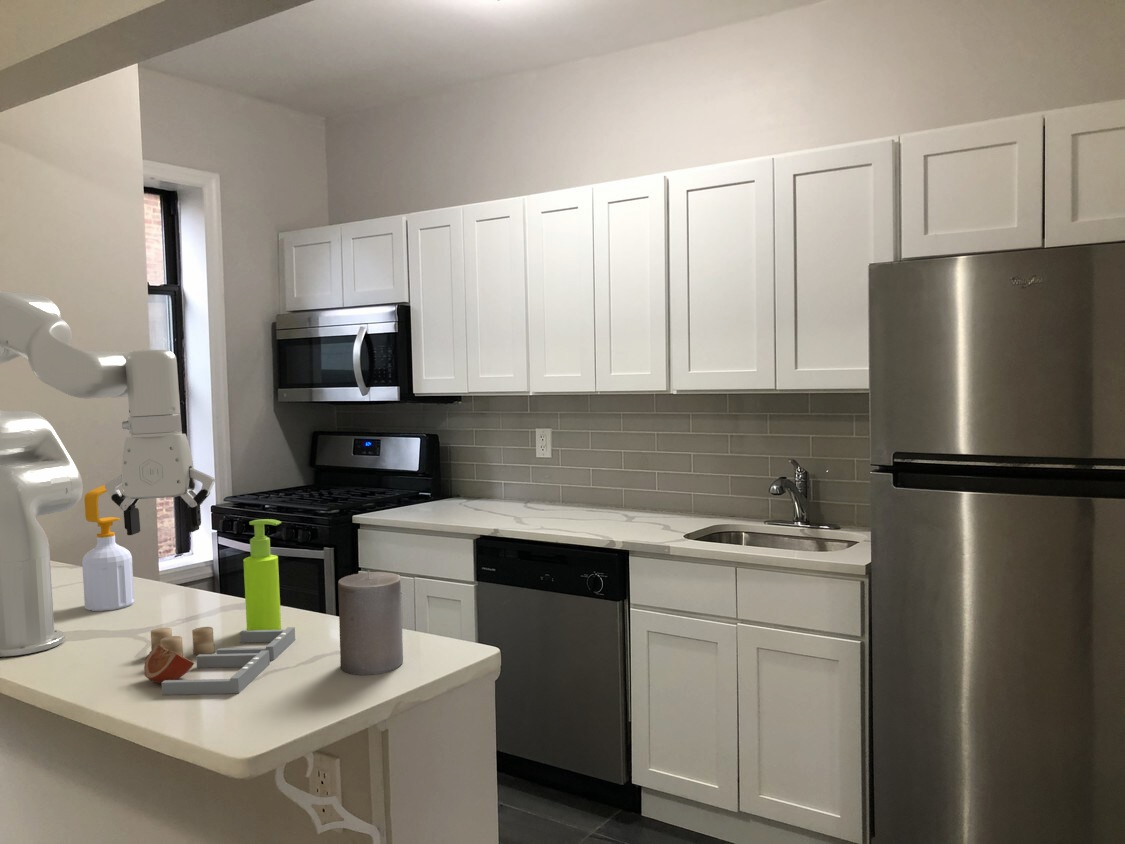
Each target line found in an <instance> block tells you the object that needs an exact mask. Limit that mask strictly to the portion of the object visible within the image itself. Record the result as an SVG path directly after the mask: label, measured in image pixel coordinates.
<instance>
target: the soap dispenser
mask: <svg viewBox="0 0 1125 844" xmlns="http://www.w3.org/2000/svg"><path fill="white" fill-rule="evenodd" d="M282 522H283V521H280V520H277V519H272V518H270V519H269V518H264V519H263V518H262V519H254V520H251V521H249V522H248V523H249V524H248V525H250V526H253V527H254V528H253V531H254V536H253V537H252V538H250V539H249V545H250V546H249V547H250V551H249V553H250V556H248V557H245V558H243V577H244V598H245V600H244V601H245V616H246V617H245V618H246V620H245V621H246V631H247V630H282V620H281V619H282V617H281V615H282V613H281V597H280V594H281V593H280V575H279V556H278V555H276V554H275V555H274V554H271V538H270V537H268V536H267V535H265V525H269V526H273V527H275V526H278V525H280V524H282Z"/></svg>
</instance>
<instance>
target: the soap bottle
mask: <svg viewBox="0 0 1125 844" xmlns="http://www.w3.org/2000/svg"><path fill="white" fill-rule="evenodd" d="M105 493H108V491H107V490H106V488H105V484H103V485H100V486H98V487H96V488H93V489H91V490H90V491H87V492H86V493H85V495H84V514H85V515H84V516H85V520H86V521H88V522H91V523H97V527H100V532H99V533H96V543H97V544H96V546H95V547H93V548H92V549H90V550H88V552H86V553H85V554H84V555H83V558H82V560H81V561H82V562H81V565H82V580H83V581H82V582H83V599H84V609H85V610H87V611H90V610H92V611H91V612H105V611H104V610H110V611H114V609H116V610H119V609H120V608H121V609H125V608H127V607H129V606H131V605H132V604H134V603H135V591H134V588H135V587H134V572H133V557H132V553H131V552H130V551H129V550H128V549H127V548H126V547H124V546H121V545H119V544H118V543H116V535H115V533H116V532H114V531H111V526H113V525H114V524H113V523H114V522H117V521H120V520H121V518H120V517H113V516H108V517H107V516H106V517H101V518H100V516H99V498H100V496H101V495H102V494H103V495H104V494H105ZM124 607H125V608H124Z"/></svg>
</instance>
